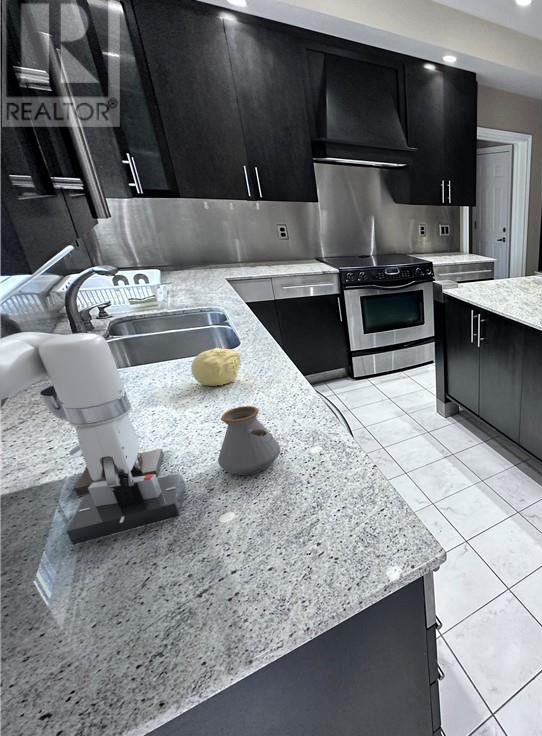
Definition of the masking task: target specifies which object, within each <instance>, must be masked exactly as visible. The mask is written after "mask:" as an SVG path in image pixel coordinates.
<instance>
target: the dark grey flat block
mask: <svg viewBox="0 0 542 736" xmlns="http://www.w3.org/2000/svg"><path fill="white" fill-rule="evenodd" d="M157 480H158V483H159V486H160V489H161V493H160V495H159V496H158V497H157V498H150V499H143V501H142V502H140V503H137V504H133V505H129V506H125V507H119V505H118V503H116V504H109V505H102V506H95V504H94V501H93V499H92V497H91V494H90V493H87V494H84V496H83V498H82V500H81V502H80V503H79V506H78V507H77V509H76V511H75V514H74V516H73V518H72V520H71V522H70V524H69V525H68V528H67V529H66V533H67V536H68V537H69V540H70V541H71V544H72V546H75V545H79V544H84V543H86V542H89V541H94V540H97V539H100V538H104V537H108V536H112V535H116V534H119V533H123V532H127V531H130V530H134V529H137V528H141V527H145V526H149V525H153V524H156V523H159V522H162V521H167V520H171V519H174V518H178V517H180V514H181V510H182V504H183V499H184V493H185V488H186V483H185V480H184V477H183V474H182V472H179V473H176V474H171V475H167V476H163V477H157Z"/></svg>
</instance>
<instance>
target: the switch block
mask: <svg viewBox="0 0 542 736" xmlns="http://www.w3.org/2000/svg"><path fill="white" fill-rule="evenodd" d="M164 457H165V454H164V451H163V448H158V449H154V450H149V451H144V452H140V451H138V454H137V460H138V462H139V464H140V469H141V470H142V472H143V475H144V476H146V475H149V474H154V475H156V477H157V478H159V473H160V471H161V467H162V463H163V460H164ZM137 470H138V469H137ZM117 471H118V469H117ZM101 481H106V477H105V471H104V473H103V475H102V478H101V479H99V480H98V481H94V480H92V479H91V476H90V474H89V471H88V468H87V466H86V467H85V469H84V470H83V472H82V473H81V476H80V477H79V479H78V481H77V483H76V484H75V486H74V491H75V493H76V495H77V496H81V495H87V494H90V492H89V490H88V488H89V486H90V485H91V484H92V483H94V482H101Z"/></svg>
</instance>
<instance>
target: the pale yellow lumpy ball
mask: <svg viewBox="0 0 542 736" xmlns="http://www.w3.org/2000/svg"><path fill="white" fill-rule="evenodd" d="M241 362H242V361H241V355H240V353H239V352H236V351H235V350H233V349H231V348H221V347H215V348H211V349H207V350H204V351H202V352H200V353H199V354H197V355H196V356H195V357H194V358H193V360H192V362H191V366H190V371H191V374H192V376H193V378H194V379H195V381H196V382H198V383H199V384H201V385H205V386H209V387H210V386H211V387H218V386H217V385H220V386H224V385H223V384H225V385H227V384H226V383H228V382H230V383H232V382H233V381H234V380H236V378H237V377H238V375H239V374H238V373H239V368H240V365H241ZM231 381H232V382H231ZM228 384H229V383H228Z"/></svg>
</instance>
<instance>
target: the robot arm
mask: <svg viewBox="0 0 542 736" xmlns="http://www.w3.org/2000/svg"><path fill="white" fill-rule="evenodd" d="M46 379H49V380H50V381H51V385H52V386H54V388H55V391H56V393H57V395H58V398H59V400H60V402H61V404H62V407H63V409H64V412H65V414H66V416H67V419H68V421H69V422H68V423H69V425H70V426H71V427H75V430H76V431H75V432H76V435H77V440H78V444H79V445H80V448H81V451H82V454H83V456H82V458H83V459H84V463H85V464H86V467H87V468H88V471H89V474H90V476H91V479H92V480H94V481H98V480H99V479H101V478H102V475H103V473H104V471H105V477H106V483H107V487H108V488H111V490H112V491H113V493H114V496H115V498H116V501H117V503H118V505H119V507H125V506H129V505H133V504H137V503H140V502H142V501H143V497H142V494H141V492H140V489H139V486H138V484H137V482H135V483H134V481H133V477H139V476H144V475H143V472H142V470H141V469H140V464H139V462H138V460H137V454H138V452H140V442H139V438H138V436H137V434H136V430H135V427H134V425H133V423H132V421H131V418H130V415H129V414H130V413H131V412H132V410H133V408H132V405H131V403H130V399H129V398H128V394H127V391H126V388H125V387H124V384H123V381H122V378H121V375H120V373H119V370H118V367H117V365H116V362H115V359H114V356H113V353H112V351H111V347H110V345H109V343H108V341H107V339H106V338H105V337H104V336H102V335H100V334H97V333H91V332H90V333H89V332H78V333H70V334H57V333H47V332H39V331H23V332H17V333H12V334H9V335H6V336H4V337H1V338H0V400H4V399H7V398H8V397H11V396H13V395H15V394H17V393H19V392H21V391H23V390H25V389H27V388H28V387H31V386H33V385H34V384H37V383H39V382H42V381H45V380H46ZM117 469H118V471H117ZM137 469H138V470H137ZM125 478H126V479H125Z"/></svg>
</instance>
